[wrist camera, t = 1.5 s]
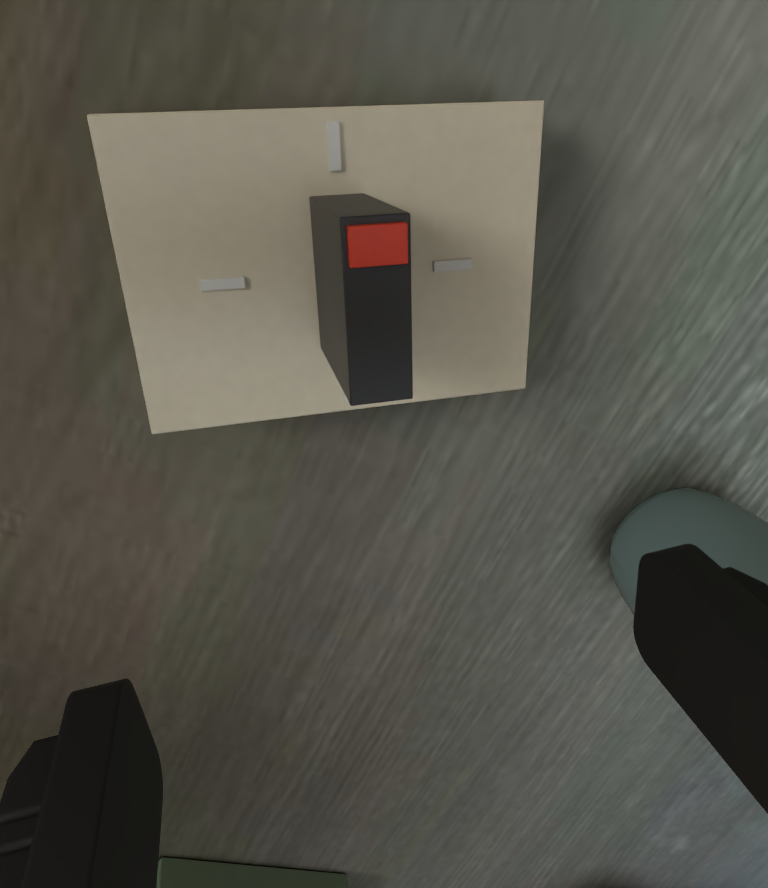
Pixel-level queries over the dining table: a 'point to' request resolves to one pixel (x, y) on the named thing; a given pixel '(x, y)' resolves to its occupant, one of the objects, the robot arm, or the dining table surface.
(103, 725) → the robot arm
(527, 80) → the dining table surface
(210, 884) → the block
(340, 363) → the knob
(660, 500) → the cup
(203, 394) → the panel
